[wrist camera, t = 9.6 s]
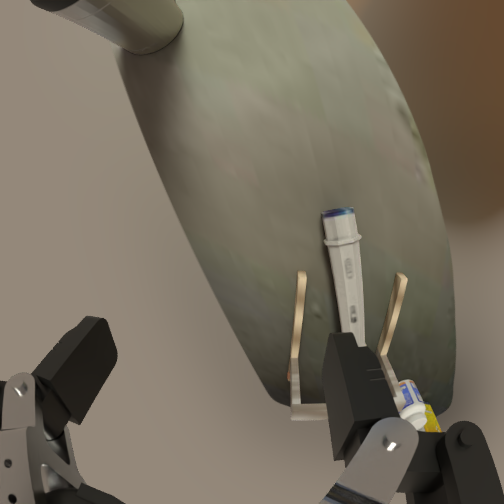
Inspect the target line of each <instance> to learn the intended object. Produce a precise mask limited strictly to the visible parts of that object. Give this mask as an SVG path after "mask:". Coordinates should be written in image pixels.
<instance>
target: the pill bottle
mask: <svg viewBox="0 0 504 504" xmlns="http://www.w3.org/2000/svg"><path fill="white" fill-rule="evenodd" d="M398 383H399V386H400V388H401V391H402V393H403V395H404V398H405V400H406V404H405V405H404V407H403V409H402V411H401V412H399V415H400V417H401V418H402V419H405V420H407V421H408V422H410V423H411V424H412V425H413V426H414V427H415V428H416V430H418V429H420V428H422V427H423V426H424V425H425V424H426V422H427V418H426V415H425V414H424V413H425V410H426V407H425V404H424V402H423V400H422V398H421V396H420V394H419V392H418V389H417V387H416V385H415V383H414V382H413V381H412V380H402V381H400V382H398Z"/></svg>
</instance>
